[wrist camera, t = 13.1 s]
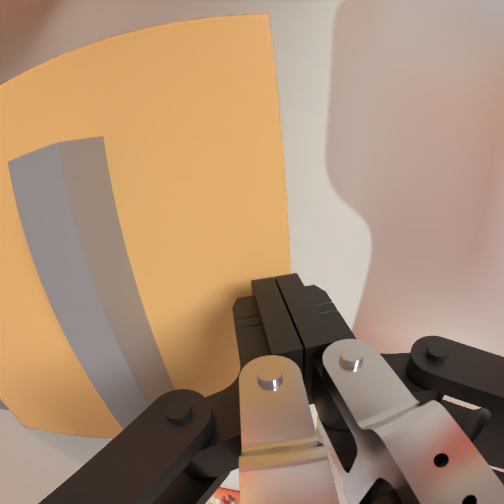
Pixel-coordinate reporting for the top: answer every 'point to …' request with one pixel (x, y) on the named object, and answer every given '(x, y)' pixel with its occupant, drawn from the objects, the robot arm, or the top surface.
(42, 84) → the lid
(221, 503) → the cracker box
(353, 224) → the top surface
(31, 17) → the top surface
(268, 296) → the robot arm
